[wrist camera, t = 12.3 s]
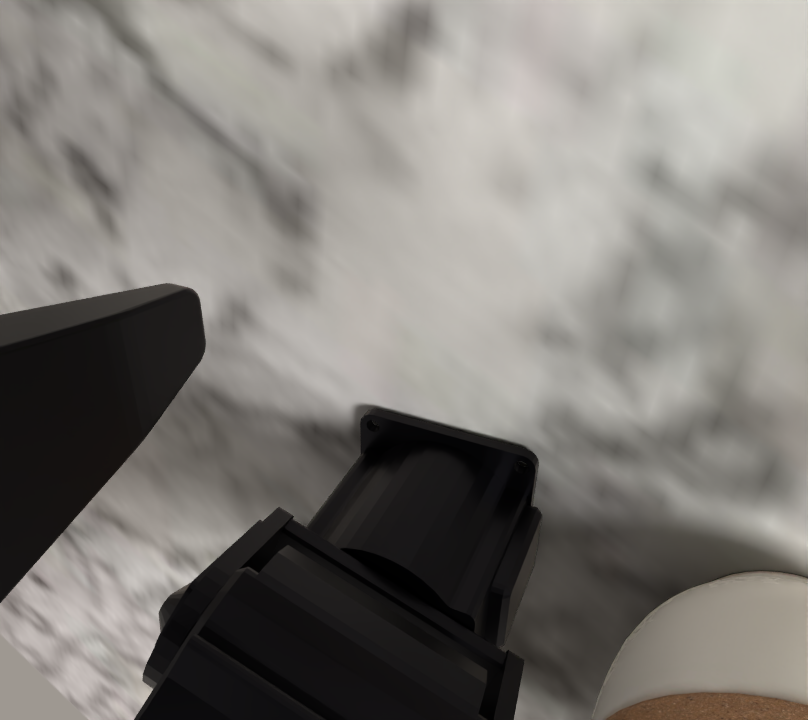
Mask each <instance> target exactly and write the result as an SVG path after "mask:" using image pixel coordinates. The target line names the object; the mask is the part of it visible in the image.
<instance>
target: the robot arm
mask: <svg viewBox="0 0 808 720" xmlns="http://www.w3.org/2000/svg"><path fill="white" fill-rule="evenodd" d="M205 346H206V340H205V332H204V325H203V318H202V311H201V303H200V299H199V296H198V294H197V293H196V292H195V291H194V290H193V289H191V288H188V287H184V286H179V285H175V284H170V283H166V284H160V285H154V286H149V287H144V288H139V289H133V290H128V291H123V292H118V293H112V294H107V295H102V296H97V297H92V298H86V299H81V300H76V301H71V302H65V303H60V304H55V305H50V306H44V307H39V308H34V309H29V310H23V311H18V312H13V313H8V314H3V315H0V603H1V602H2V601H3V599H4V598H5V597H6V596H7V595H8V594H9V593H10V592H11V590H12V589H13V588H14V587H15V586H16V585H17V584H18V582H19V581H20V580H21V579H22V578H23V577H24V576H25V574H26V573H27V572H28V571H29V570H30V569H31V568H32V567H33V565H34V564H35V563H36V562H37V561H38V560H39V559H40V557H41V556H42V555H43V554H44V553H45V552H46V551H47V550H48V548H49V547H50V546H51V545H52V544H53V543H54V542H55V540H56V539H57V538H58V537H59V536H60V535H61V534H62V533H63V531H64V530H65V529H66V528H67V527H68V526H69V525H70V523H71V522H72V521H73V520H74V519H75V518H76V517H77V515H78V514H79V513H80V512H81V511H82V510H83V509H84V508H85V506H86V505H87V504H88V503H89V502H90V501H91V500H92V498H93V497H94V496H95V495H96V494H97V493H98V492H99V491H100V489H101V488H102V487H103V486H104V485H105V484H106V483H107V481H108V480H109V479H110V478H111V477H112V476H113V475H114V474H115V472H116V471H117V470H118V469H119V468H120V467H121V466H122V464H123V463H124V462H125V461H126V460H127V459H128V458H129V457H130V455H131V454H132V453H133V452H134V451H135V450H136V448H137V447H138V446H139V445H140V444H141V442H142V441H143V440H144V439H145V437H146V436H147V435H148V433H149V432H150V431H151V429H152V428H153V427H154V425H155V424H156V423H157V421H158V420H159V418H160V417H161V416H162V414H163V413H164V411H165V410H166V409H167V407H168V406H169V404H170V403H171V402H172V400H173V399H174V397H175V396H176V395H177V393H178V392H179V390H180V389H181V388H182V386H183V385H184V383H185V382H186V381H187V379H188V378H189V376H190V375H191V374H192V372H193V371H194V369H195V368H196V367H197V365H198V364H199V362H200V361H201V359H202V357H203V355H204V352H205ZM372 420H373V421H375V422H377V424H378V425H379V426H377V425H375V424H374V423H373V422H372ZM518 461H522V462H524V463H526V464H527V466H528V467H524V466H522V465H520V464H519V463H518ZM538 466H539V462H538V458H537V457H536V455H535V454H534V453H533V452H531V451H529V450H527V449H524V448H520V447H517V446H513V445H509V444H506V443H502V442H498V441H494V440H491V439H487V438H483V437H480V436H476V435H472V434H468V433H465V432H461V431H457V430H454V429H450V428H446V427H443V426H439V425H435V424H431V423H428V422H424V421H420V420H417V419H413V418H409V417H405V416H402V415H398V414H394V413H391V412H387V411H383V410H379V409H370V410H368V411H367V413H366V414H365V415H364V416H363V417H362V419H361V456H360V457H359V458H358V460H357V461H356V462H355V464H354V465H353V466H352V468H351V469H350V470H349V472H348V473H347V474H346V476H345V477H344V478H343V479H342V481H341V482H340V483H339V485H338V486H337V487H336V489H335V490H334V491H333V493H332V494H331V495H330V496H329V498H328V499H327V500H326V502H325V503H324V504H323V506H322V507H321V508H320V510H319V511H318V512H317V513H316V515H315V516H314V517H313V519H312V520H311V521H310V523H309V524H308V525H307V527H305V526H303V525H301V524H300V523H298V522H296V521H295V520H293V517H294V516H293V515H291V514H289V513H288V512H286V511H285V510H283V509H281V508H280V507H278V508H277V509H276V510H275V511H274V512H273V513H272V514H271V515H269V516H268V517H267V518H266V519H265V520H264V521H261V520H259V521H258V522H257V523H256V524H255V525H254V526H252V527H251V528H250V529H249V530H248V531H247V532H246V533H245V534H244V535H243V536H242V537H240V538H239V539H238V540H237V541H236V542H235V543H234V544H233V545H232V546H231V547H229V548H228V549H227V550H226V551H225V552H224V553H223V554H222V555H221V556H220V557H218V558H217V559H216V560H215V561H214V562H213V563H212V564H211V565H210V566H209V567H208V568H206V569H205V570H204V571H203V572H202V573H201V574H200V575H199V576H198V577H197V578H195V579H194V580H193V581H192V582H191V583H189V584H188V585H186V586H184V587H183V588H181V589H179V590H178V591H176V592H174V593H173V594H171V595H170V596H169V597H168V598H167V600H166V601H165V602H164V604H163V605H162V607H161V609H160V611H159V621H160V630H161V633H160V635H159V637H158V640H157V642H156V644H155V648H154V649H153V651H152V653H151V656H150V658H149V660H148V662H147V664H146V667H145V670H144V673H143V682H144V683H146V684H147V685H149V686H150V687H151V688H153V691H152V692H151V694H150V696H149V697H148V699H147V700H146V702H145V703H144V705H143V706H142V708H141V710H140V711H139V713H138V714H137V716H136V717H135V719H134V720H514V715H515V709H516V704H517V698H518V693H519V687H520V682H521V676H522V671H523V666H524V660H523V659H522V658H520V657H519V656H517V655H515V654H514V653H512V652H511V651H509V650H508V651H507V652H505V651H503V650H501V649H500V647H502V646H504V645H505V642H506V639H507V637H508V634H509V631H510V629H511V626H512V623H513V621H514V618H515V615H516V613H517V610H518V607H519V605H520V602H521V599H522V597H523V594H524V591H525V589H526V586H527V583H528V581H529V578H530V575H531V573H532V570H533V567H534V564H535V559H536V553H537V547H538V540H539V534H540V527H541V521H542V514H541V512H540V510H539V509H538V508H537V507H533V500H534V494H535V487H536V480H537V473H538Z"/></svg>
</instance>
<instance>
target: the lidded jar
mask: <svg viewBox="0 0 808 720" xmlns="http://www.w3.org/2000/svg"><path fill="white" fill-rule="evenodd" d="M591 720H808V578H806V577H802V576H799V575H794V574H788V573H782V572H772V571H751V572H742V573H736V574H731V575H728V576H725V577H722V578H718V579H716V580H714V581H712V582H708V583H705V584H702V585H699V586H696V587H693V588H690V589H688V590H686V591H683V592H681V593H679V594H677V595H675V596H673V597H672V598H670V599H669V600H667V601H666V602H664V603H662V604H661V605H660V606H658V607H657V608H656V609H654V610H653V611H652V612H650V613H649V614H648V615H647V616H646V617H645V618H644V619H643V621H642V622H641V623H640V624H639V625H638V626H637V627H636V628H635V629H634V631H633V632H632V633H631V634H630V635H629V636H628V637H627V639H626V640H625V642H624V644H623V645H622V647H621V649H620V650H619V652H618V654H617V656H616V657H615V659H614V661H613V663H612V665H611V667H610V669H609V671H608V673H607V675H606V678H605V680H604V683H603V685H602V687H601V690H600V692H599V695H598V697H597V701H596V704H595V708H594V711H593V715H592V718H591Z"/></svg>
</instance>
